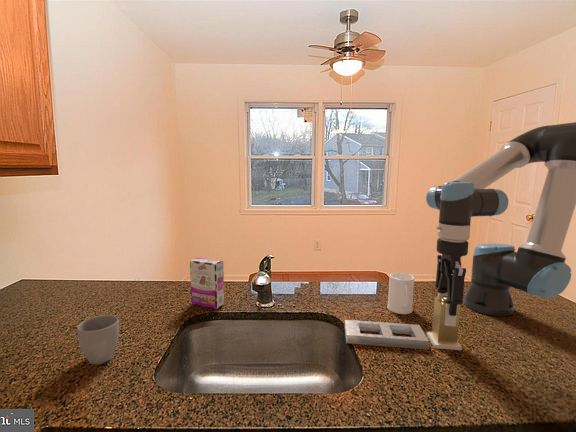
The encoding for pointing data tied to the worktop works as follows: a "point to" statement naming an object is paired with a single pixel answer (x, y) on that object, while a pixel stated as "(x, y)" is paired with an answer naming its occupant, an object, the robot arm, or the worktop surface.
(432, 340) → the pad
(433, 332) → the brass block
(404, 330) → the rail plate
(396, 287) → the mug
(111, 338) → the mug
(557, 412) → the worktop surface
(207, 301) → the candy bar box
